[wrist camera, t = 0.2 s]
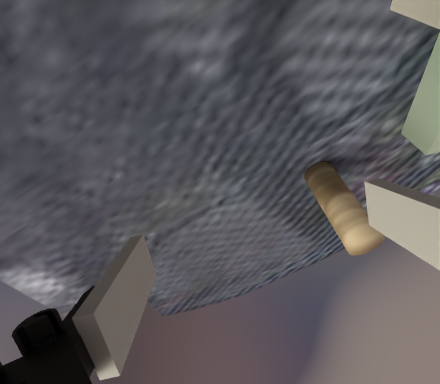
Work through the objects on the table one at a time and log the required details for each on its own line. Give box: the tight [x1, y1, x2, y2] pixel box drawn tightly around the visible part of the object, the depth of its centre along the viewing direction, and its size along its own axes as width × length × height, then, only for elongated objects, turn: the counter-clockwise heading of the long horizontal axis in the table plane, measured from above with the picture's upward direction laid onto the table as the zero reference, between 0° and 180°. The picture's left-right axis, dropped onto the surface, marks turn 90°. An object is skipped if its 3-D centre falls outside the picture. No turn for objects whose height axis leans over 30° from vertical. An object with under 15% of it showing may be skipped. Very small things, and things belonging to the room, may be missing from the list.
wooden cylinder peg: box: [304, 161, 385, 255], centre depth 33 cm, size 4×4×12 cm
